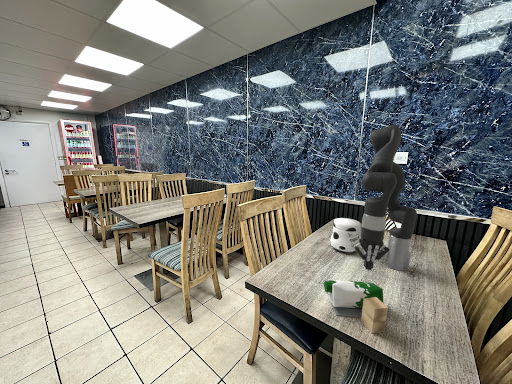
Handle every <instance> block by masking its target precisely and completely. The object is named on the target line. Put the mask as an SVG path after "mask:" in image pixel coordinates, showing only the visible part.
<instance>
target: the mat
mask: <svg viewBox="0 0 512 384" xmlns="http://www.w3.org/2000/svg"><path fill="white" fill-rule="evenodd" d="M326 294H327V295H328V292H326ZM330 304H331V307H332V308H333V311H334V313H335V316H337V317H347V318H348V317H350V318H361V317H362V309H363V308H348V307H334V306H333V305H332V303H331V302H330Z"/></svg>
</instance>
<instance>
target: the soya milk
mask: <svg viewBox="0 0 512 384" xmlns="http://www.w3.org/2000/svg"><path fill="white" fill-rule="evenodd" d="M323 289H324V292H325V293H327V292H328V294H327V296H328V301H329V302H330V304H331V303H332V304H331V306H332V305H333V306H334V307H348V308H363V301H364V299H366V298H373V297H377V298H378V299H379V300H380V301H381V302H382V303H383V304H385V302H384V290H383V287H380V286H379V285H377V284H375V283H374V282H373V283H372V282H366V281H356V280H354V281H353V280H339V279H337V280H336V279H327V280H325V281H324V282H323ZM333 306H332V307H333Z"/></svg>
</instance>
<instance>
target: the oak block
mask: <svg viewBox="0 0 512 384" xmlns="http://www.w3.org/2000/svg"><path fill="white" fill-rule="evenodd" d="M388 310H389V307H388V306H387V305H386V304H385V303H384V304H383V303H382V302H381V301H380V300H379V299H378V298H377V297H373V298H366V299H364V301H363V309H362V317H360V318H361V319H360V322H361V323H362V324H363V325H364V326H365V328H366V329H367V330H368V331H369V332H370V334H375V333H381V332H385V330H386V324H387V317H388V312H389V311H388Z"/></svg>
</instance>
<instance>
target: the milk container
mask: <svg viewBox="0 0 512 384" xmlns="http://www.w3.org/2000/svg"><path fill="white" fill-rule="evenodd" d="M332 225H333V227H332V234H331V236H330V245H331V247H332V248H334V249H335V250H336V251H339V252H342V253H348V254H349V253H352V254H353V253H357V252H356V250H355V249H354V247H353V244H355V245H356V244H358V243H359V240H360V238H361V227H362V222H360V221H358V220H355V219H352V218H347V217H346V218H345V217H339V218H338V217H337V218H335V219H334V220H333V224H332Z"/></svg>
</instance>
